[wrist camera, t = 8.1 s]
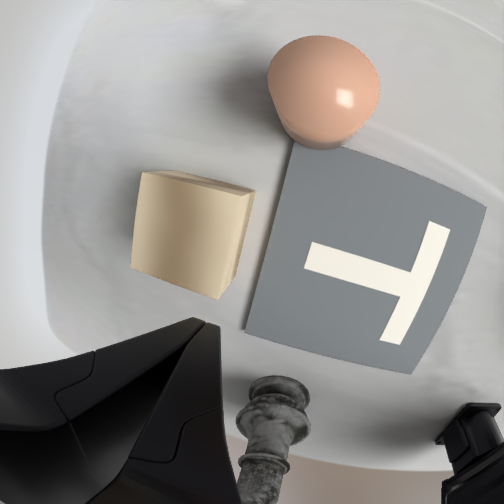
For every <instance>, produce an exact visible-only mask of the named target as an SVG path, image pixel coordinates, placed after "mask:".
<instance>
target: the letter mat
mask: <svg viewBox="0 0 504 504" xmlns="http://www.w3.org/2000/svg"><path fill="white" fill-rule="evenodd" d="M486 208H487V207H485V206H483V205H482V204H480V203H478V202H476V201H474V200H472V199H470V198H468V197H466V196H464V195H462V194H460V193H458V192H456V191H454V190H452V189H450V188H448V187H446V186H443V185H441V184H439V183H437V182H435V181H432V180H430V179H428V178H425V177H423V176H421V175H418V174H416V173H413V172H411V171H409V170H406V169H404V168H401V167H398V166H396V165H393V164H391V163H388V162H385V161H382V160H380V159H377V158H374V157H371V156H368V155H365V154H362V153H359V152H356V151H353V150H350V149H347V148H344V147H338V148H335V149H331V150H315V149H310V148H308V147H305V146H303V145H301V144H299V143H297V142H296V141H294V145H293V149H292V153H291V157H290V161H289V165H288V168H287V172H286V176H285V180H284V184H283V188H282V192H281V196H280V200H279V204H278V208H277V212H276V215H275V219H274V223H273V227H272V231H271V235H270V238H269V242H268V246H267V250H266V254H265V257H264V261H263V265H262V269H261V272H260V276H259V280H258V284H257V287H256V291H255V295H254V298H253V302H252V306H251V309H250V313H249V317H248V320H247V324H246V328H245V331H244V333H247V334H250V335H253V336H256V337H259V338H263V339H266V340H269V341H273V342H276V343H279V344H283V345H286V346H290V347H293V348H297V349H301V350H304V351H308V352H312V353H315V354H319V355H323V356H327V357H331V358H335V359H339V360H344V361H348V362H352V363H357V364H361V365H366V366H370V367H375V368H380V369H385V370H390V371H395V372H400V373H406V374H412V372H413V370H414V369H415V367H416V366H417V364H418V363H419V361H420V359H421V358H422V356H423V355H424V353H425V351H426V350H427V348H428V346H429V344H430V343H431V341H432V339H433V337H434V336H435V334H436V332H437V330H438V328H439V326H440V325H441V323H442V321H443V319H444V317H445V315H446V313H447V311H448V309H449V307H450V305H451V303H452V301H453V298H454V296H455V294H456V292H457V290H458V287H459V285H460V283H461V280H462V278H463V276H464V273H465V271H466V268H467V266H468V263H469V261H470V258H471V255H472V253H473V250H474V247H475V244H476V241H477V238H478V235H479V232H480V229H481V226H482V222H483V219H484V216H485V212H486Z"/></svg>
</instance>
